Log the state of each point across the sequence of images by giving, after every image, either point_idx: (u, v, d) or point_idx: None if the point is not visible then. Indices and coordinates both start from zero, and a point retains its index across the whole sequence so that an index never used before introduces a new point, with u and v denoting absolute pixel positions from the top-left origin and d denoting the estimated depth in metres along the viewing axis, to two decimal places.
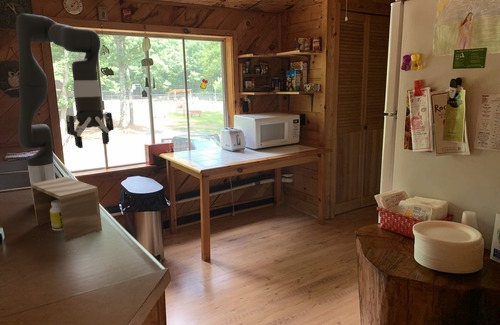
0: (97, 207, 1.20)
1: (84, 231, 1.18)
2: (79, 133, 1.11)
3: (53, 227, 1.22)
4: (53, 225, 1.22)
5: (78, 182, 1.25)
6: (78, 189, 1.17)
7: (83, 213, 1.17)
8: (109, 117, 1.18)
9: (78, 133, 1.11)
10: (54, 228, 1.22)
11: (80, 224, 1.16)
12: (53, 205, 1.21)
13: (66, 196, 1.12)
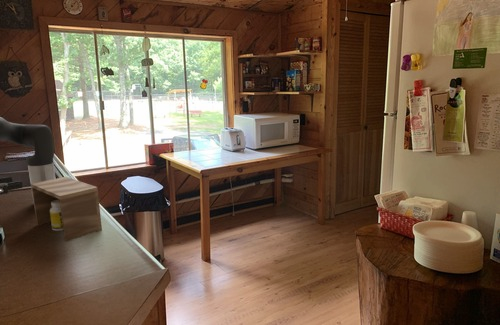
0: (97, 207, 1.20)
1: (84, 231, 1.18)
2: None
3: (53, 227, 1.22)
4: (53, 225, 1.22)
5: (78, 182, 1.25)
6: (78, 189, 1.17)
7: (83, 213, 1.17)
8: None
9: None
10: (54, 228, 1.22)
11: (80, 224, 1.16)
12: (53, 205, 1.21)
13: (66, 196, 1.12)
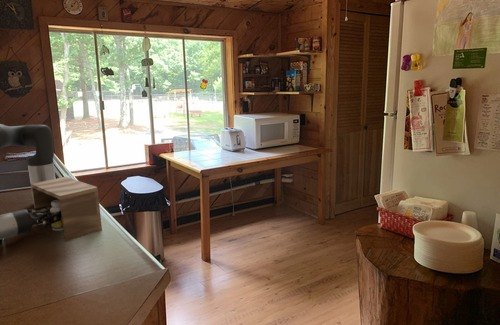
0: (97, 207, 1.20)
1: (84, 231, 1.18)
2: (48, 214, 1.24)
3: (53, 227, 1.22)
4: (53, 225, 1.22)
5: (78, 182, 1.25)
6: (78, 189, 1.17)
7: (83, 213, 1.17)
8: None
9: None
10: (54, 228, 1.22)
11: (80, 224, 1.16)
12: (53, 205, 1.21)
13: (66, 196, 1.12)
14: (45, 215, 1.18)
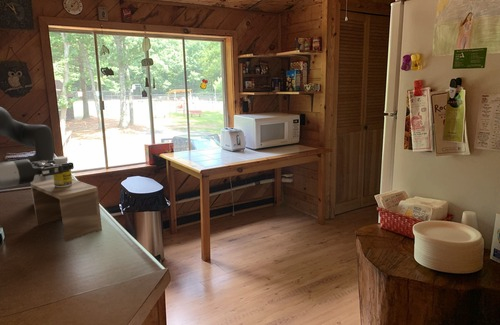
0: (97, 207, 1.20)
1: (84, 231, 1.18)
2: None
3: (56, 184, 1.19)
4: (56, 182, 1.19)
5: (78, 182, 1.25)
6: (78, 189, 1.17)
7: (83, 213, 1.17)
8: None
9: None
10: (57, 185, 1.19)
11: (80, 224, 1.16)
12: (56, 161, 1.18)
13: (66, 196, 1.12)
14: (47, 166, 1.14)
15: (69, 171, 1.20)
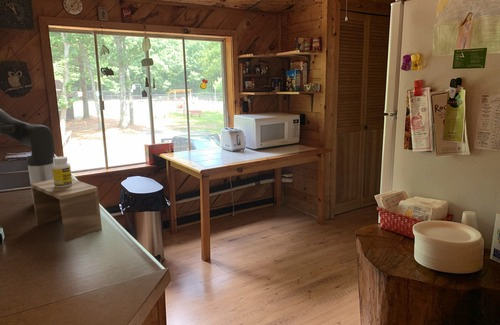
0: (97, 207, 1.20)
1: (84, 231, 1.18)
2: None
3: (56, 184, 1.19)
4: (56, 182, 1.19)
5: (78, 182, 1.25)
6: (78, 189, 1.17)
7: (83, 213, 1.17)
8: None
9: None
10: (57, 185, 1.19)
11: (80, 224, 1.16)
12: (56, 161, 1.18)
13: (66, 196, 1.12)
14: None
15: (69, 171, 1.20)
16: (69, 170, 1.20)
